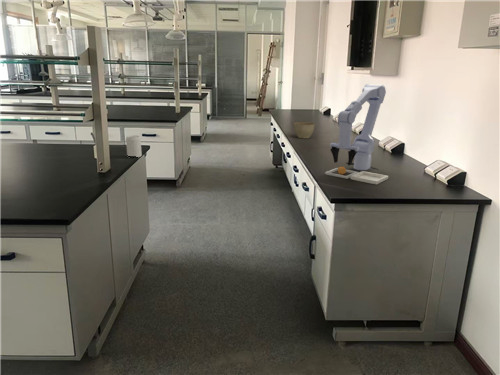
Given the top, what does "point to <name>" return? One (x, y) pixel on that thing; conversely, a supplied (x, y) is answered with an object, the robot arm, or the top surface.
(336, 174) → the tray
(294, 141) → the top surface
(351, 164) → the black flat plate
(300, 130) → the planter bowl
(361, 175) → the dish
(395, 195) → the top surface
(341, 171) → the ball
